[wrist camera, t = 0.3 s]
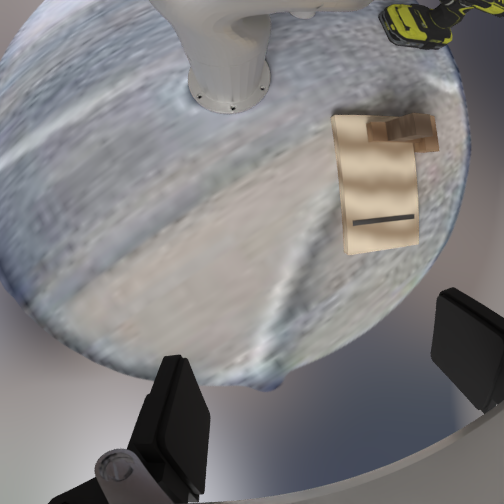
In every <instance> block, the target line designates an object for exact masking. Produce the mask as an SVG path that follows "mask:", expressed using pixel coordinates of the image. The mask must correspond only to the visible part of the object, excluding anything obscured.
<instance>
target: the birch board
mask: <svg viewBox="0 0 504 504" xmlns="http://www.w3.org/2000/svg"><path fill="white" fill-rule="evenodd" d="M396 118H399V117H394V116H373V115H334V116H332V117H331V124H332V130H333V137H334V144H335V152H336V160H337V168H338V177H339V187H340V198H341V210H342V223H343V239H344V252H345V253H346V254H347V255H353V254H360V253H366V252H373V251H379V250H386V249H392V248H398V247H404V246H411V245H417V244H419V213H418V191H417V177H416V166H415V156H414V148H413V143H399V142H368V135H367V128H366V124H367V123H369V122H387V121H390V120H393V119H396Z"/></svg>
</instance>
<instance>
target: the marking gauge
mask: <svg viewBox="0 0 504 504" xmlns="http://www.w3.org/2000/svg"><path fill="white" fill-rule="evenodd" d="M366 128H367V135H368V142H399V143H413V148H414V152H419V153H425V152H436V151H439V144H438V137H437V130H436V124H435V118H434V116H430V115H429V114H421V113H411V114H408V115H405V116H402V117H399V118H396V119H393V120H390V121H387V122H369V123H367V124H366Z"/></svg>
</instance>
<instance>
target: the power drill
mask: <svg viewBox="0 0 504 504" xmlns="http://www.w3.org/2000/svg"><path fill="white" fill-rule="evenodd" d="M439 1H440V2H441V4H440V5H439V6H438V7H437V8H435V9H429V8H428V7H425V6H422V5H417V4H411V5H403V4H401V5H400V4H393V5H391V6H388V7H386V8H385V9H384V11H383V12H381V14H380V15H379V20H380V21H381V23H382V26H383V28H384V30H385V32H386V34H387V36H388V39H389V41H390V42H392V43H394V44H395V45H398V46H406V47H415V48H419V49H426V50H429V49H435V50H438V49H440V48H442V47H444V46H445V45H447V43H449V42H450V41H452V33H451V30H450V27H452V26H454V25H456V24H457V23H459V22H460V21H461V20H462V19H463V17H464V16H465V13H467V12H468V11H469V10H471V9H473V8H476V9H478V10H481V11H483V12H486V13H489V14H492V15H495V16H497V17H502V16H503V17H504V0H439Z"/></svg>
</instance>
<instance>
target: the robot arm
mask: <svg viewBox="0 0 504 504" xmlns="http://www.w3.org/2000/svg"><path fill="white" fill-rule="evenodd" d="M149 1H150V3H151V4H152V5H153V6H154V8H155V9H156V10H157V11H158V12H159V13H160V14H161V15H162V16H163V17H164V18H165V19H166V20H167V21H168V22H169V23H170V24H171V25H172V27H173V28H174V30H175V32H176V33H177V36H178V38H179V40H180V42H181V44H182V47H183V49H184V51H185V54H186V56H187V58H188V61H189V63H190V65H191V67H190V70H189V74H188V85H189V89H190V92H191V94H192V96H193V97H194V99H195V100H196V101H197V102H198V103H199V104H200V105H201V106H203V107H204V108H205V109H207V110H210V111H212V112H215V113H219V114H237V113H241V112H244V111H246V110H249V109H251V108H252V107H254V106H255V105H257V104H258V103H259V102H260V101H261V100H262V99H263V97H264V96H265V94H266V93H267V90H268V88H269V85H270V77H271V75H270V69H269V66H268V64H267V62H266V60H265V56H266V51H267V47H268V43H269V38H270V34H271V19H270V15H269V14H274V13H280V12H351V11H357V10H360V9H363V8H365V7H366V6H368V5H369V4H370V3H371V2H372V1H373V0H149ZM261 89H264V90H263V91H262V90H261ZM200 96H201V97H202V98H200V99H199V97H200ZM232 108H235V110H232ZM431 357H432V360H433V362H434V363H435V364H436V365H437V366H438V367H439V368H440V369H441V370H442V371H443V372H444V373H445V375H446V376H448V377H449V379H450V380H451V381H452V382H453V383H454V384H455V385H456V386H457V387H458V389H459V390H460V391H461V392H462V393H463V394H464V395H465V396H466V397H467V399H468V400H469V401H470V402H471V403H472V404H473V405H474V406H475V407H476V408H477V409H478V410H481V411H482V412H483V413H484V415H482V416H481V417H479V418H478V419H476V420H475V421H473V422H472V423H470V424H468V425H467V426H466V427H464V428H462V429H460V430H459V431H457V432H455V433H453V434H452V435H450V436H448V437H446V438H445V439H443V440H441V441H439V442H437V443H435V444H433V445H431V446H429V447H427V448H425V449H423V450H421V451H419V452H417V453H415V454H413V455H410V456H408V457H406V458H404V459H401V460H399V461H397V462H394V463H392V464H389V465H387V466H384V467H382V468H379V469H376V470H374V471H371V472H368V473H365V474H362V475H359V476H356V477H353V478H350V479H347V480H343V481H340V482H336V483H333V484H329V485H325V486H321V487H317V488H313V489H308V490H304V491H299V492H294V493H289V494H283V495H277V496H270V497H264V498H256V499H247V500H237V501H225V502H209V503H188V502H199V494H204V491H205V479H206V466H207V453H208V442H209V441H208V440H209V431H210V413H209V410H208V407H207V405H206V403H205V401H204V398H203V396H202V393H201V391H200V389H199V386H198V384H197V381H196V379H195V376H194V374H193V371H192V369H191V366H190V363H189V361H188V359H187V358H182V356H181V355H172V356H165V357H164V358H163V360H162V363H161V365H160V368H159V371H158V373H157V376H156V378H155V381H154V384H153V386H152V389H151V392H150V394H148V395H147V396H146V398H145V400H144V403H143V406H142V408H141V411H140V414H139V416H138V419H137V422H136V425H135V427H134V430H133V433H132V436H131V439H130V441H129V444H128V447H127V449H114V450H111V451H108V452H107V453H105V454H103V455H102V456H101V457H100V458H99V459H98V461H97V463H96V465H95V476H96V477H95V478H93V479H91V480H89V481H87V482H85V483H83V484H81V485H79V486H77V487H75V488H73V489H71V490H69V491H67V492H65V493H63V494H60V495H58V496H56V497H55V498H53V499H52V500H51V501H50V502H49V503H48V504H504V318H503V317H501V316H500V315H498V314H497V313H495V312H494V311H492V310H490V309H489V308H487V307H486V306H484V305H483V304H481V303H479V302H478V301H476V300H474V299H473V298H471V297H469V296H468V295H466V294H464V293H463V292H461V291H459V290H458V289H456V288H454V287H452V288H449V289H447V290H444V291H442V292H440V294H439V296H438V298H437V302H436V314H435V324H434V334H433V341H432V348H431ZM496 404H498V405H497V406H496Z"/></svg>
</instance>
